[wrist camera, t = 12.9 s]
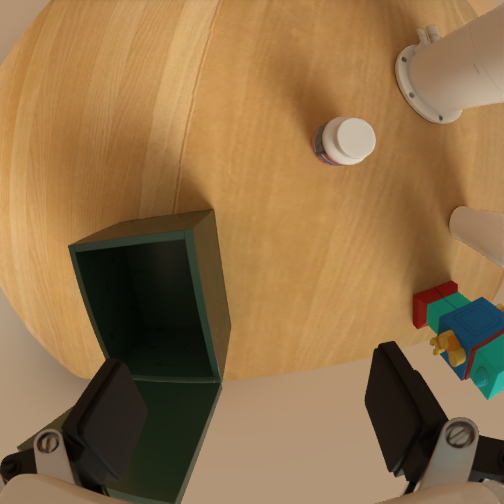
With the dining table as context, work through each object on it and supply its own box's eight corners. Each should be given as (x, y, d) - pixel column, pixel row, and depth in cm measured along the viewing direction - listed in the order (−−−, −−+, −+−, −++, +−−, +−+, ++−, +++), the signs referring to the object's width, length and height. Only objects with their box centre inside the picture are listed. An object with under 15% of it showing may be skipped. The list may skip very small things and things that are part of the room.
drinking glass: (445, 200, 32) (517, 220, 18) (473, 201, 32) (542, 220, 18) (442, 244, 34) (508, 280, 20) (470, 242, 34) (533, 273, 20)
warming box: (118, 222, 34) (67, 245, 23) (214, 209, 34) (192, 228, 22) (144, 329, 39) (113, 377, 28) (231, 326, 38) (222, 382, 27)
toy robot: (403, 327, 38) (485, 439, 14) (404, 294, 37) (505, 405, 13) (456, 305, 37) (546, 389, 13) (459, 274, 36) (563, 351, 12)
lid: (16, 447, 10) (45, 494, 10) (174, 503, 9) (196, 544, 9) (111, 377, 27) (122, 415, 27) (221, 382, 27) (227, 423, 27)
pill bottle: (308, 162, 32) (326, 159, 23) (313, 121, 30) (331, 105, 22) (349, 169, 32) (378, 169, 23) (353, 129, 30) (383, 118, 22)
